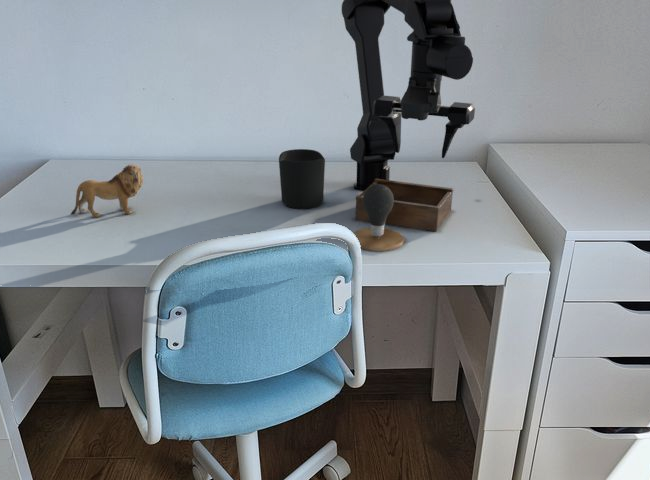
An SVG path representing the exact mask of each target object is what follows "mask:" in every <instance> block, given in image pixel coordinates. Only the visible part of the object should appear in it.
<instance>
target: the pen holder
mask: <svg viewBox="0 0 650 480" xmlns="http://www.w3.org/2000/svg"><path fill="white" fill-rule="evenodd" d="M278 168H279V181H280V193H281V202H282V204H283V205H284V206H285V207H288V208H291V209H294V210H295V209H297V210H309V209H315V208H318V207H320V206H321V205H322V204H323V202H324V193H325V192H324V191H325V169H326V158H325V157H324V156H323V154H322V153H321V152H320V151H318V150H315V149H308V148H307V149H306V148H297V149H288V150H285V151H282V152H281V153H280V154H279V157H278Z"/></svg>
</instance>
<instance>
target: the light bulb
mask: <svg viewBox="0 0 650 480" xmlns="http://www.w3.org/2000/svg"><path fill="white" fill-rule="evenodd" d="M393 204H394V197H393V193H392V192H391V190H390V189H389V188H388V187H387V186H385V185H382V184H375V185H372V186H370V187H369V188H368V189H367V190H366V192H365V193H364V196H363V205H364V208H365V210H366V212H367V214H368V216H369V220H370V222H369V224H370V228H371V230H370V231H371V234H372V235H373V236H374V237H375V238H379V237H380V236H382V235H383V233H384V229H385V225H386V224H385V222H386V218H387V216H388V214H389V212H390V211H391V209H392V207H393Z"/></svg>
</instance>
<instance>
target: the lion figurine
mask: <svg viewBox="0 0 650 480" xmlns="http://www.w3.org/2000/svg"><path fill="white" fill-rule="evenodd" d="M143 183H144V178H143V174H142V168H141V167H140V166H137V165H135V164H127V165H126V166H124V167H123V169H122V170H121V171H120V172H119V173H117V174H115V175H114V176H113V177H112V178H111V179H110V180H107V181H98V180H93V179H89V180H88V179H87V180H84V181H82V182H81V183H80V184H79V185H78V187H77V189H76V195H75V205H74V208H73V210H71V212H70V215H71V216H72V215H76V214H77V211H78V212H79V213H81V214H83V213H86V212H87V210H88V212H89V213H90V214H91V216H92V217H94V218H98V217H100V213H99V212H96V211H95V210H94V204H95V199H96V197H97V198H99V199H102V200H106V201H113V200H118V203H119V208H120V210H122V211H123V212H124V213H125V214H126V215H131V214H132V210H130V209H129V199H130V198H134V197H136V195H137V194H138V191H139V190H140V189H141V188H142V186H143ZM81 193H82V195H81ZM86 203H87V209H86V208H83V207H84V205H85V204H86Z"/></svg>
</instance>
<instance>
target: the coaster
mask: <svg viewBox="0 0 650 480" xmlns="http://www.w3.org/2000/svg"><path fill="white" fill-rule="evenodd" d="M370 230H371V227H367V228H362V229H358V230H355V231H353V232H352V233H354V234H355V235H356V237H357V238H358V240H359V242H360V245H361V248H360V249H361V250H365V251H371V252H372V251H373V252H384V251H392V250H395V249H399V248H400V247H401V246H403V244H404V240H405V239H404V236H403V235H402V234H401V233H400V232H398V231H396V230H392V229H389V228H384V233H383V235H382V236H380V237H379V238H375V237H374V236H373V235H372V234H371V231H370Z"/></svg>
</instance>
